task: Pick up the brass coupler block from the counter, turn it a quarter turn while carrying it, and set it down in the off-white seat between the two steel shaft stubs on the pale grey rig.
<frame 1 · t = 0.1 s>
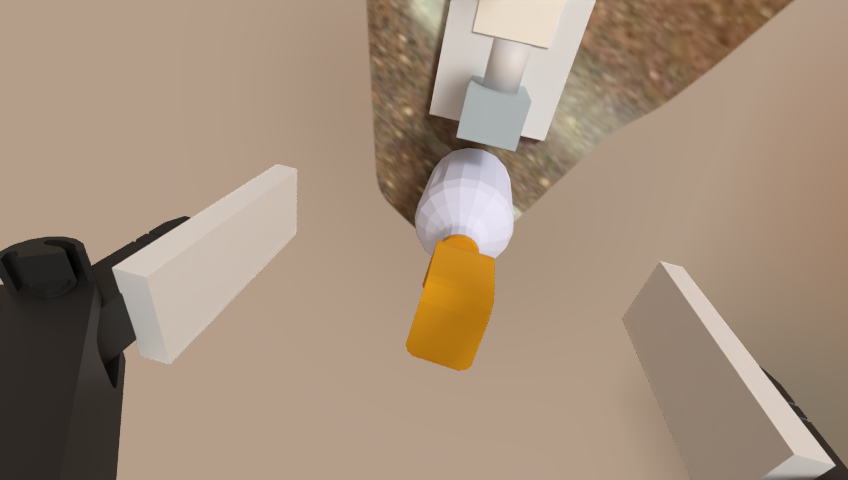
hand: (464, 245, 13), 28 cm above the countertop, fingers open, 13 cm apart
soap bottle: (469, 185, 42), on the countertop
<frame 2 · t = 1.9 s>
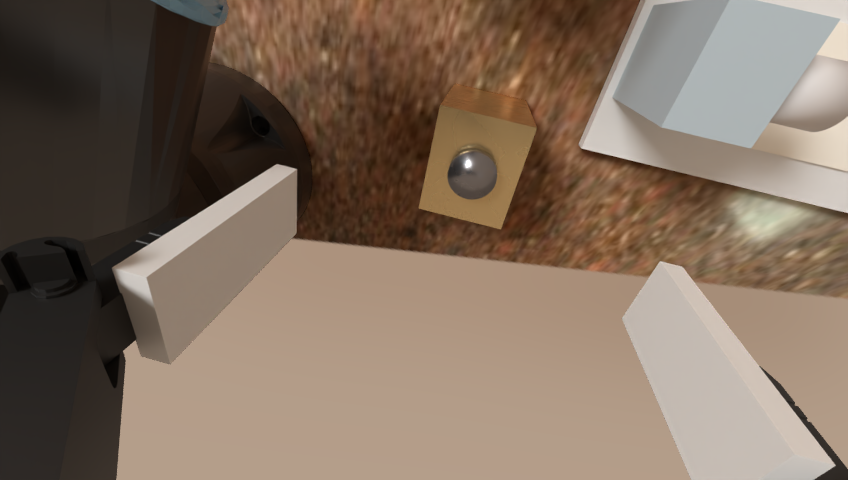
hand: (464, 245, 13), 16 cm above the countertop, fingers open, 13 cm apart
shaft rig: (814, 96, 22), on the countertop
coupler: (478, 134, 27), on the countertop
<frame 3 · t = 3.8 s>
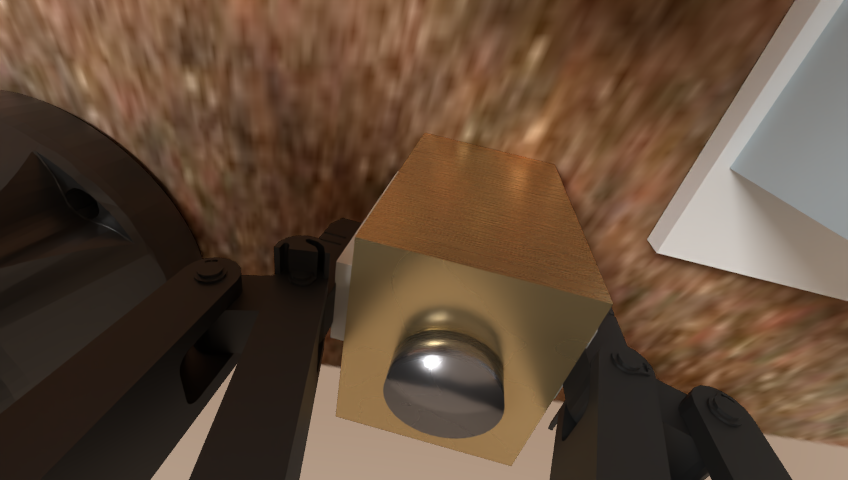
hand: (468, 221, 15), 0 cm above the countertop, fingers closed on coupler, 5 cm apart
coupler: (468, 217, 15), on the countertop, touching gripper
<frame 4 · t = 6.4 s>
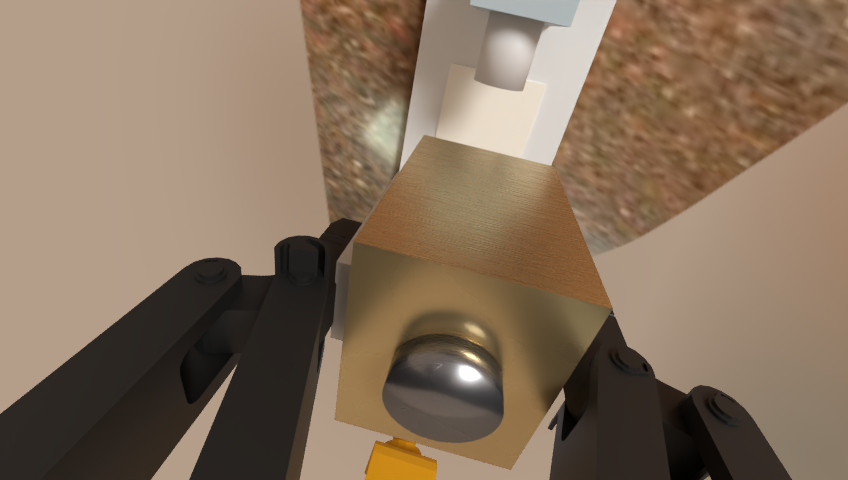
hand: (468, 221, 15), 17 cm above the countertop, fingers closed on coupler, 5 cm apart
soap bottle: (435, 298, 40), on the countertop
shaft rig: (483, 125, 29), on the countertop
coupler: (468, 219, 15), point 17 cm above the countertop, touching gripper
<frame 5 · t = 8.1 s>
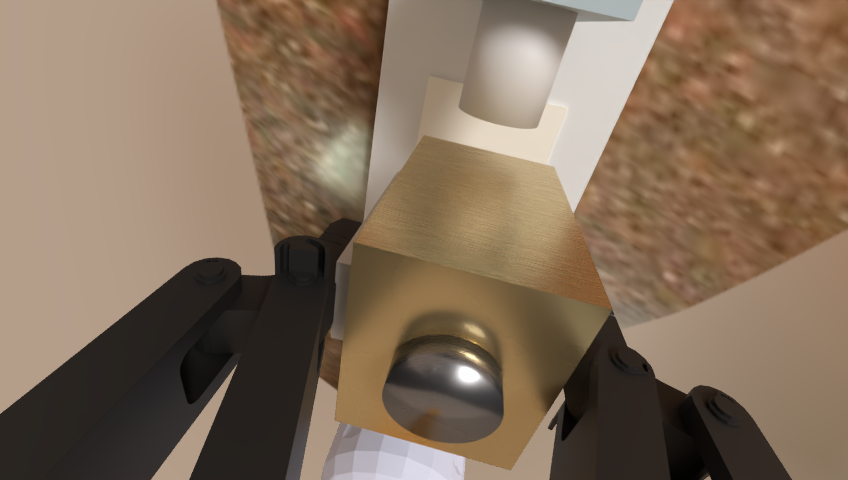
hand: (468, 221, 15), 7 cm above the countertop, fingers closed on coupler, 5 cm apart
soap bottle: (418, 367, 31), on the countertop
shaft rig: (477, 160, 21), on the countertop
coupler: (468, 219, 15), point 7 cm above the countertop, touching gripper
when the fingers open (3 cm above the countertop, at t = 9.3 s): coupler drops 1 cm, resting on shaft rig.
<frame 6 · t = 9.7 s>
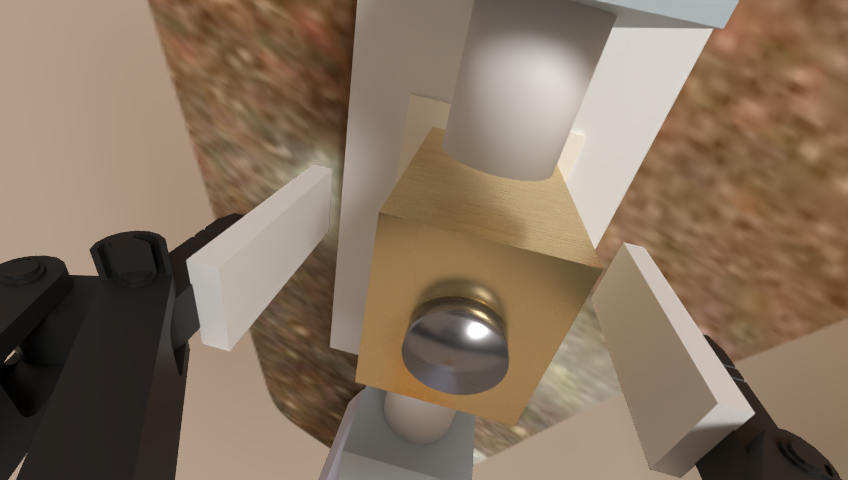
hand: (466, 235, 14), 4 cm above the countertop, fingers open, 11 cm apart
soap bottle: (406, 418, 27), on the countertop
shaft rig: (472, 194, 17), on the countertop
coupler: (473, 206, 16), point 1 cm above the countertop, touching shaft rig
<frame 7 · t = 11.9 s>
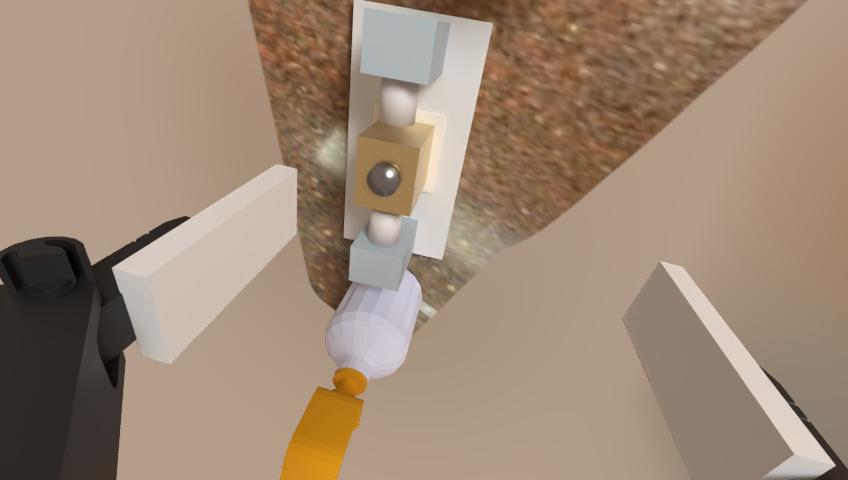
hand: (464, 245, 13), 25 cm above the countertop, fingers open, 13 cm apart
soap bottle: (389, 288, 48), on the countertop
shaft rig: (407, 147, 38), on the countertop
coupler: (405, 150, 37), point 1 cm above the countertop, touching shaft rig
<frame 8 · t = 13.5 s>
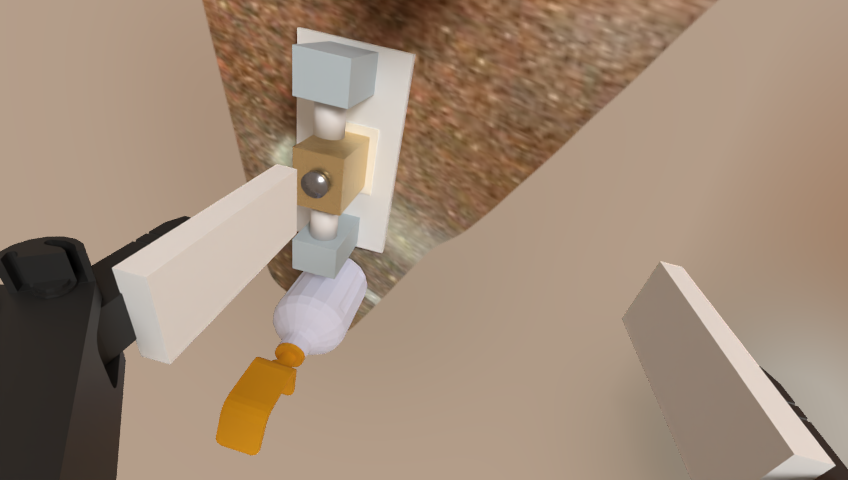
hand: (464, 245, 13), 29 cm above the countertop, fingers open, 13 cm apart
soap bottle: (338, 277, 53), on the countertop
shaft rig: (348, 153, 43), on the countertop
coupler: (346, 157, 42), point 1 cm above the countertop, touching shaft rig
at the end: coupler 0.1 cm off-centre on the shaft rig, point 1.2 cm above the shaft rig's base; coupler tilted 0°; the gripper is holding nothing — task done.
